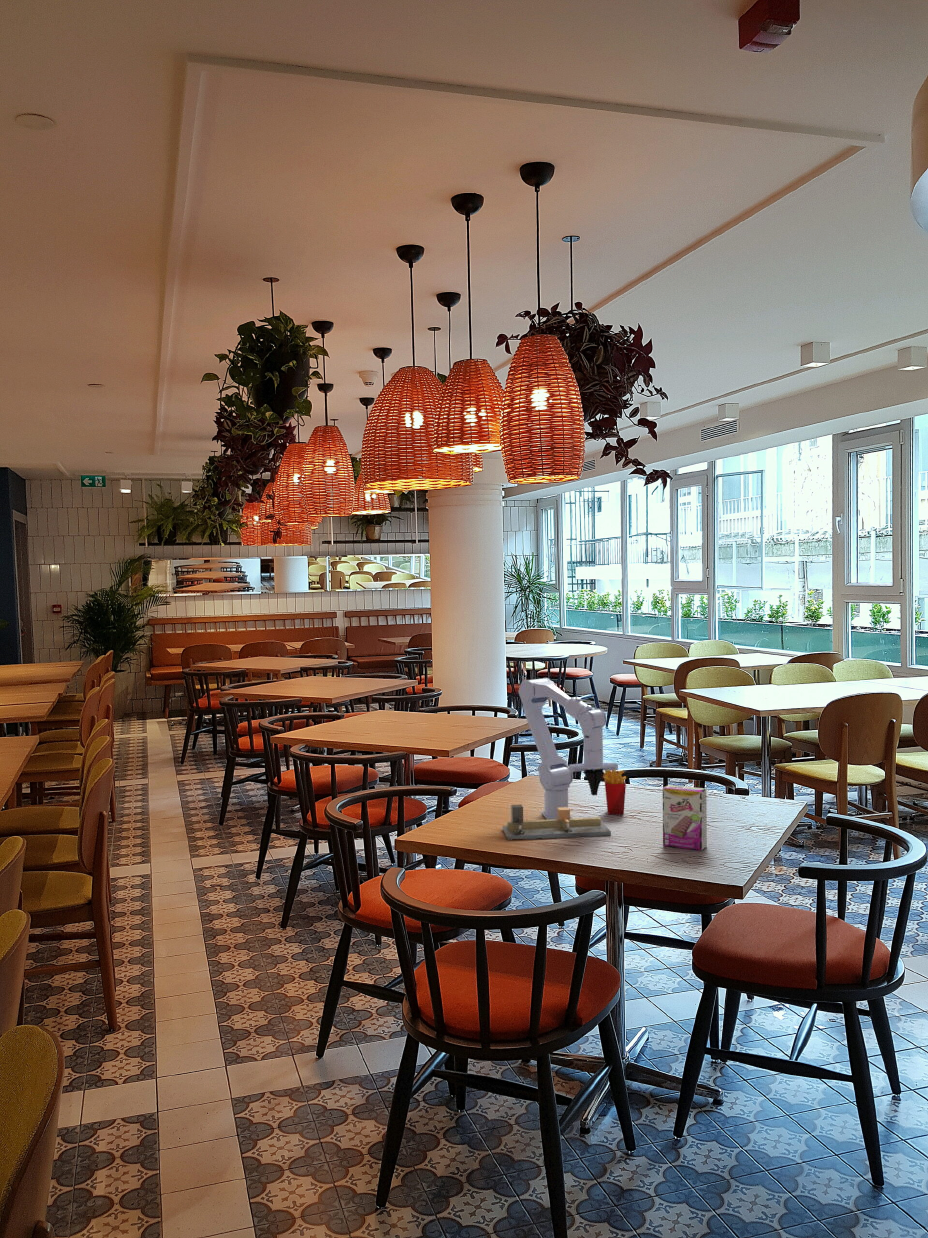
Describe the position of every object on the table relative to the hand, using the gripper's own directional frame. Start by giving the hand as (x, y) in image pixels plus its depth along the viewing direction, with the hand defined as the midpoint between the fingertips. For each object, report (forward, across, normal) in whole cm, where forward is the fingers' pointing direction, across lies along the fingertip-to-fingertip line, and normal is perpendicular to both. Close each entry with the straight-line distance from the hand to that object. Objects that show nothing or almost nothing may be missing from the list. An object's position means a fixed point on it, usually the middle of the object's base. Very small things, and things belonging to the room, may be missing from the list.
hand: (594, 794), depth 287 cm
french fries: (+10, +9, +14) cm, 19 cm away
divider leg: (+8, -10, -5) cm, 14 cm away
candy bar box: (+10, +19, -27) cm, 34 cm away
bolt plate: (+9, -13, -6) cm, 17 cm away
